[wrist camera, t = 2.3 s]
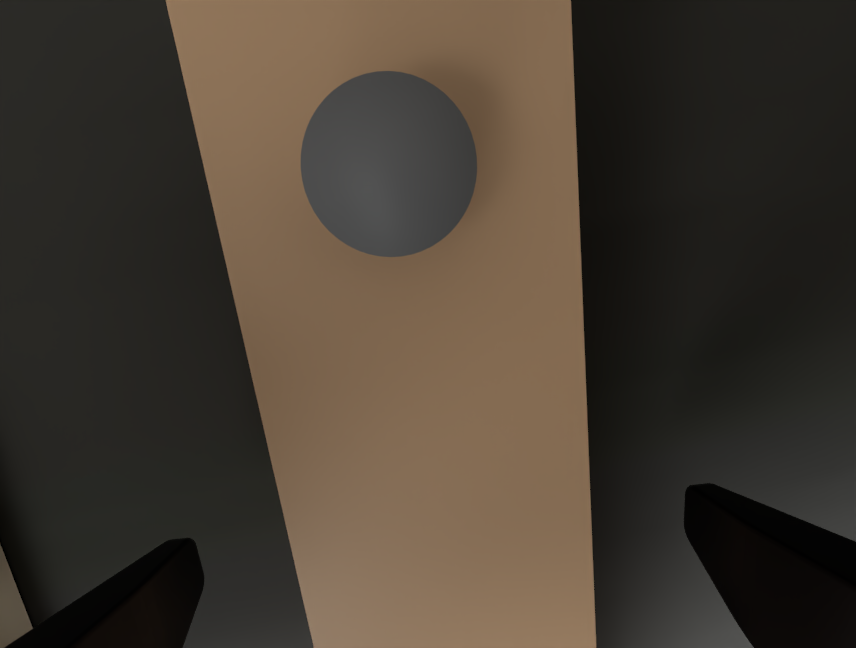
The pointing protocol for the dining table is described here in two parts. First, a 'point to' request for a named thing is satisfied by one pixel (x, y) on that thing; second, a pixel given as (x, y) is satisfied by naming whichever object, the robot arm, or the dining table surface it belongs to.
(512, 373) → the master link
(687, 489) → the robot arm
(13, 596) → the board
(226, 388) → the dining table surface
